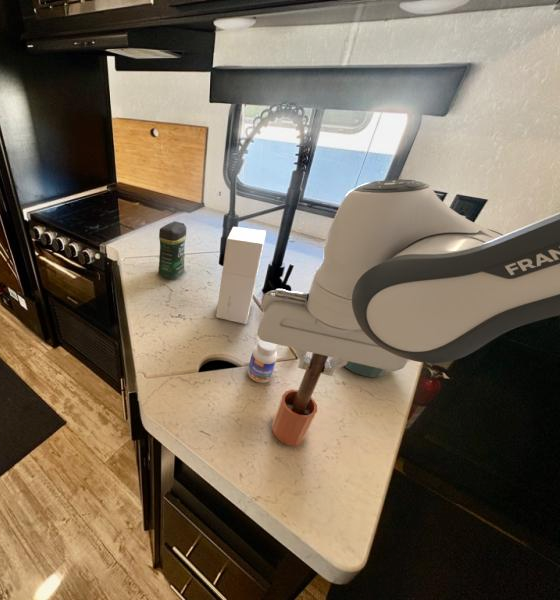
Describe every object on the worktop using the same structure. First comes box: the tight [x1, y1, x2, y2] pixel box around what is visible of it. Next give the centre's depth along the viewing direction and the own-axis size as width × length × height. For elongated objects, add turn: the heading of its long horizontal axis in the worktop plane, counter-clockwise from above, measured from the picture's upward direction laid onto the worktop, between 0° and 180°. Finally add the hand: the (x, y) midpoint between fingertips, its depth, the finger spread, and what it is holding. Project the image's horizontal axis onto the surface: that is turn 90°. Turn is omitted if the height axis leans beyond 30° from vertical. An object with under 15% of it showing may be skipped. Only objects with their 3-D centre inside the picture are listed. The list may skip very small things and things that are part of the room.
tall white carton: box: [216, 226, 267, 325], centre depth 86 cm, size 9×9×25 cm
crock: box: [271, 389, 318, 447], centre depth 59 cm, size 6×6×9 cm
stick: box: [287, 353, 329, 415], centre depth 54 cm, size 4×2×20 cm, turn 69°
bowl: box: [344, 361, 390, 378], centre depth 76 cm, size 12×12×6 cm
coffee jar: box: [158, 220, 187, 280], centre depth 107 cm, size 10×8×19 cm
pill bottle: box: [247, 338, 278, 384], centre depth 71 cm, size 5×5×10 cm
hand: (314, 369), depth 51 cm, fingers closed on stick, 2 cm apart
